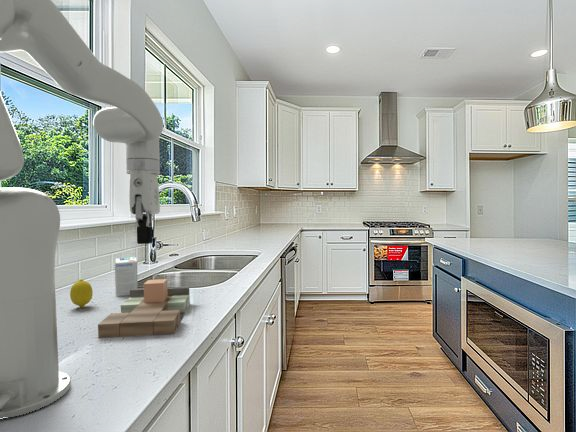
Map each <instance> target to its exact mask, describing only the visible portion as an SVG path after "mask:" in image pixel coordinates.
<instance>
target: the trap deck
mask: <svg viewBox="0 0 576 432" xmlns="http://www.w3.org/2000/svg"><path fill="white" fill-rule="evenodd" d="M167 292H168V297H167V298H166V300H165V301H164V302H149V303H144V288H138V289H131V290H130V295H129V298H127V299H126V300H125V301H123V302H122V303H121V305H120V312H112V313H111V312H110V314H109V315H107V316H106V317H105V318H104V319H102V321H101V322H99V323H97V331H98V332H97V335H98V336H97V337H98V339H107V338H124V337H125V338H127V337H139V336H140V337H141V336H143V337H144V336H157V335H174V334H175V333H176V331H177V330H178V327H179V325H180V324H181V320H182V319H183V317H184V315H185V313H186V312H187V310H188V309H189V306H190V305H191V304H190V303H191V300H190V299H191V298H190V297H191V296H190V286H178V287H177V286H174V287H167Z"/></svg>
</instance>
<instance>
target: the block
mask: <svg viewBox="0 0 576 432" xmlns="http://www.w3.org/2000/svg"><path fill="white" fill-rule="evenodd" d="M167 288H168V279H167V278H164V279H163V278H162V279H148V280H146V281H145V282H144V283H143V289H144V303H149V302H164V301H165V300H166V298H167V297H168V292H167Z"/></svg>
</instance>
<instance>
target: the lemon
mask: <svg viewBox="0 0 576 432" xmlns="http://www.w3.org/2000/svg"><path fill="white" fill-rule="evenodd" d="M93 294H94V293H93V287H92V285H91V283H90V282H88V281H86V280H84V279H79V280H77V281H76V282H74V283H73V284H72V285H71V288H70V291H69V297H70V300H71V302H72V304H74V305H75V306H78V307H80V308H84V307H85V306H86V305H87V304H89V303H90V302H91V300H92V298H93Z"/></svg>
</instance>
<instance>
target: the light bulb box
mask: <svg viewBox="0 0 576 432" xmlns="http://www.w3.org/2000/svg"><path fill="white" fill-rule="evenodd" d="M114 261H115V262H114V286H115V297H122V296H123V297H124V296H130V290H131V289H139V287H138V285H139V283H138V279H139V278H138V260H137V257H136V256H133V257H132V256H131V257H122V258H121V257H120V258H115V259H114Z"/></svg>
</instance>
